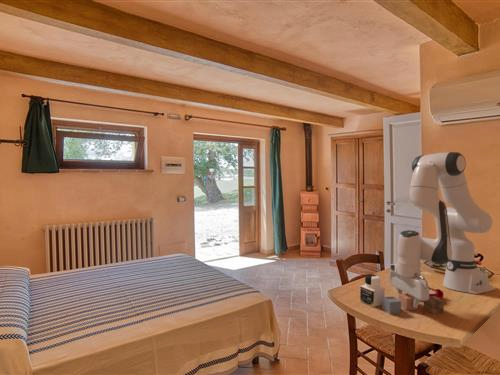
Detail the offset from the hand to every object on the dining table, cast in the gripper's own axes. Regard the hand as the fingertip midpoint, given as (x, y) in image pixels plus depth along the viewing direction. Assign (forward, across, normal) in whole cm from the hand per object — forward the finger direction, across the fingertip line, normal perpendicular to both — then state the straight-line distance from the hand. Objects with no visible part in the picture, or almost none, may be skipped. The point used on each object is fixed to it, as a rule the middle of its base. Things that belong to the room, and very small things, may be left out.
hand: (407, 302), depth 133 cm
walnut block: (+2, -5, -8) cm, 10 cm away
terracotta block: (+2, 0, 0) cm, 2 cm away
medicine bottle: (+2, +7, +12) cm, 14 cm away
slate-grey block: (+2, -2, +9) cm, 9 cm away
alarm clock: (+2, +7, -16) cm, 18 cm away
